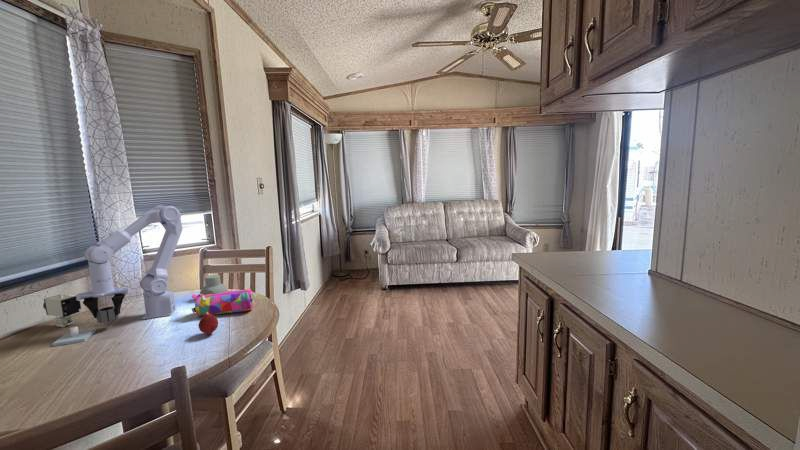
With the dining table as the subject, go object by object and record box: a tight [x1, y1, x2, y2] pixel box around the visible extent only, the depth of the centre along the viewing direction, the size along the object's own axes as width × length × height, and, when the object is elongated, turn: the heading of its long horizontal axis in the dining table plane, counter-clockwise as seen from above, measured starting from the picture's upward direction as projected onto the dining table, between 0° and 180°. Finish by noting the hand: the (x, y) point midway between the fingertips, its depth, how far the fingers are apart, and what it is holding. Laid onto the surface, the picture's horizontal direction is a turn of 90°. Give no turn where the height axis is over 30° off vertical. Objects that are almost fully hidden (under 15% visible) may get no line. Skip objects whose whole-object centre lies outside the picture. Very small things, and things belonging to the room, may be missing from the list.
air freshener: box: [199, 274, 228, 295], centre depth 148 cm, size 11×8×10 cm
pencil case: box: [191, 288, 255, 317], centre depth 130 cm, size 22×9×9 cm, turn 107°
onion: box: [198, 312, 219, 335], centre depth 111 cm, size 6×6×8 cm
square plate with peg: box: [52, 325, 97, 347], centre depth 110 cm, size 8×8×4 cm
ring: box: [96, 305, 119, 324], centre depth 117 cm, size 5×5×4 cm
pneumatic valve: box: [42, 293, 82, 328], centre depth 121 cm, size 6×12×12 cm, turn 77°
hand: (107, 315), depth 117 cm, fingers closed on ring, 5 cm apart
